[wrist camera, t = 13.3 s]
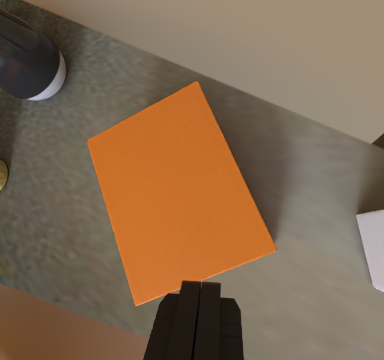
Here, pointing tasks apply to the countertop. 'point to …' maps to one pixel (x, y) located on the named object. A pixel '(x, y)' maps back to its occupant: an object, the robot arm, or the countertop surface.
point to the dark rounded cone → (28, 60)
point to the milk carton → (373, 244)
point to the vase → (3, 174)
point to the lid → (176, 196)
